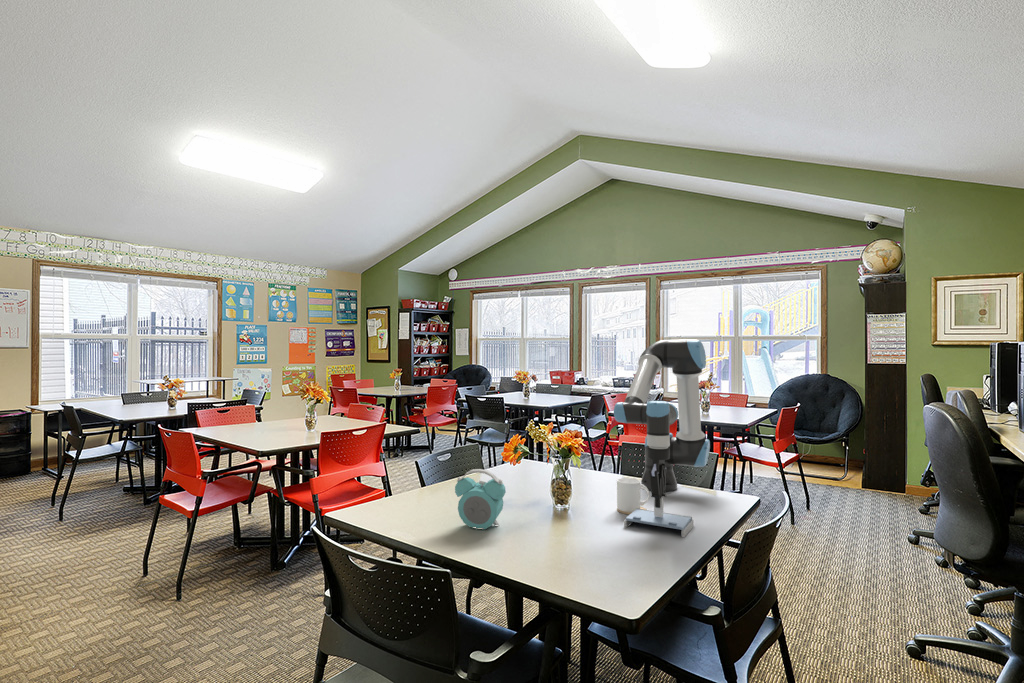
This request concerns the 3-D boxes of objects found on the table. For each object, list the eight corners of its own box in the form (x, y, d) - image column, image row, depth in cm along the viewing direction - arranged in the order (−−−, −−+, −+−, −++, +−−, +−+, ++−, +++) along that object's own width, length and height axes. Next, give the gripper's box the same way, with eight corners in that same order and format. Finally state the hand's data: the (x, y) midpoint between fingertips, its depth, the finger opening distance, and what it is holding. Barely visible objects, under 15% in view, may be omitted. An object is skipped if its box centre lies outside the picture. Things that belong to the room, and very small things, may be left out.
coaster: (622, 504, 212) (622, 503, 212) (650, 508, 206) (650, 507, 206) (612, 511, 202) (612, 510, 202) (641, 516, 197) (641, 515, 197)
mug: (652, 512, 200) (652, 483, 200) (619, 512, 200) (619, 483, 200) (646, 505, 209) (646, 477, 209) (614, 506, 208) (614, 477, 208)
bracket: (636, 516, 196) (636, 510, 196) (693, 526, 186) (693, 519, 186) (624, 527, 186) (624, 520, 186) (684, 537, 175) (683, 530, 175)
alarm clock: (509, 524, 189) (508, 466, 189) (501, 533, 180) (500, 473, 180) (462, 520, 193) (461, 464, 194) (452, 529, 184) (451, 470, 184)
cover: (637, 510, 196) (637, 506, 196) (691, 519, 186) (691, 515, 186) (625, 520, 186) (625, 516, 186) (683, 530, 176) (683, 525, 176)
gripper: (653, 442, 193) (653, 509, 193) (641, 448, 182) (641, 519, 182) (674, 444, 190) (675, 512, 189) (663, 451, 178) (664, 523, 178)
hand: (658, 516), depth 186 cm, fingers closed
